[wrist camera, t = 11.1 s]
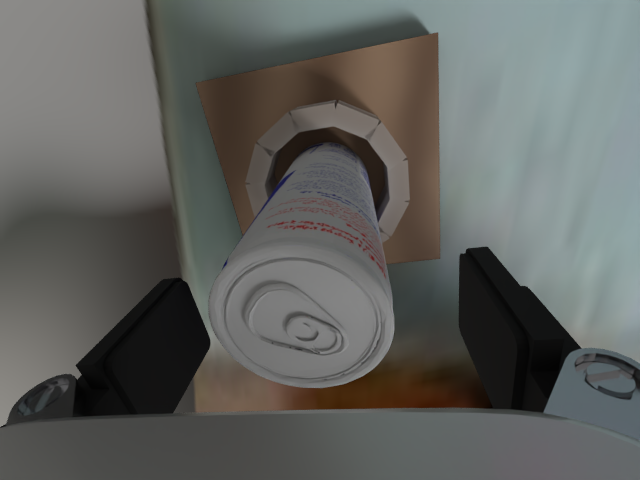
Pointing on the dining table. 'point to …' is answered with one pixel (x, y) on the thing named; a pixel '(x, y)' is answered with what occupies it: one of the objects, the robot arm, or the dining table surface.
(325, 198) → the beverage can
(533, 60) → the dining table surface
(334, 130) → the can stand
